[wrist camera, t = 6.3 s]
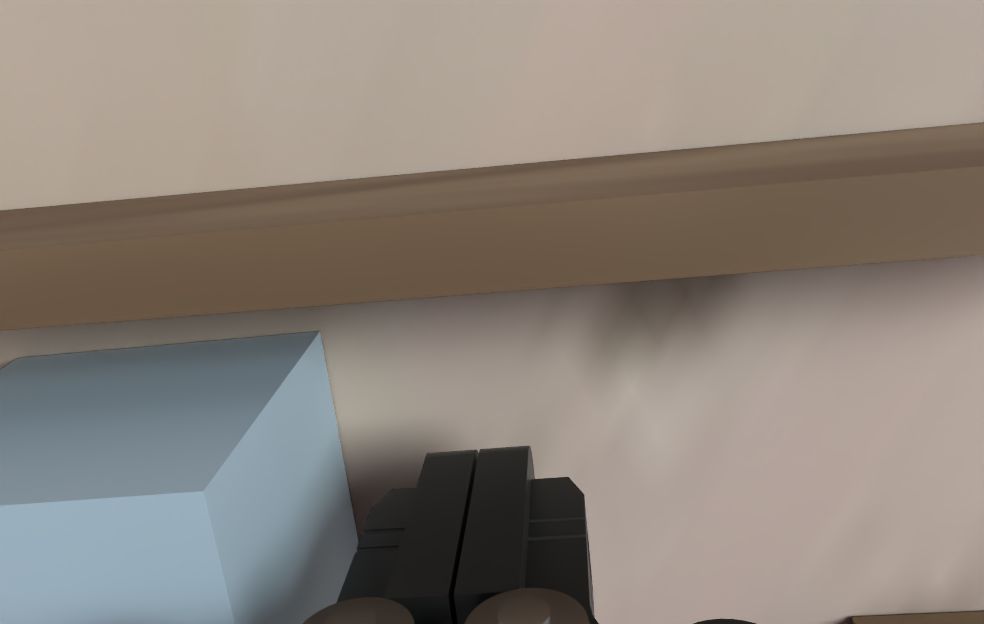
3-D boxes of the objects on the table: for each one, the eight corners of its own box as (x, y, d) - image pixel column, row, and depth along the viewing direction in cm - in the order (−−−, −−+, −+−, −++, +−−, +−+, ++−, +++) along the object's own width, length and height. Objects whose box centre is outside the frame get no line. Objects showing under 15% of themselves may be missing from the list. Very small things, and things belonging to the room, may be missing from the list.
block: (17, 357, 15) (-235, 522, 10) (319, 331, 14) (203, 491, 10) (94, 619, 16) (-94, 869, 12) (369, 603, 16) (290, 858, 11)
